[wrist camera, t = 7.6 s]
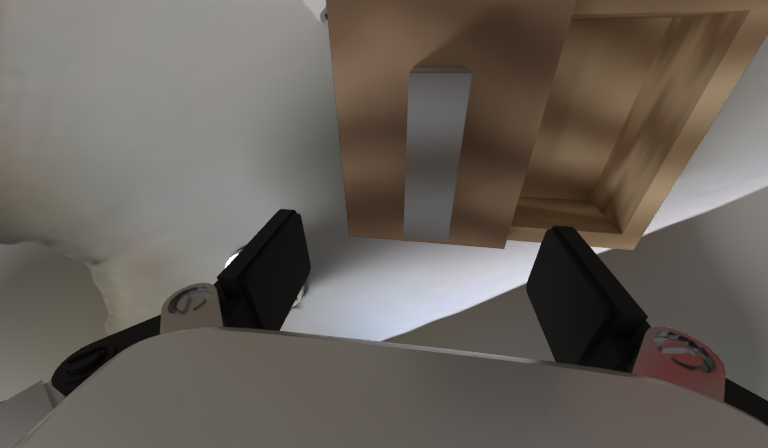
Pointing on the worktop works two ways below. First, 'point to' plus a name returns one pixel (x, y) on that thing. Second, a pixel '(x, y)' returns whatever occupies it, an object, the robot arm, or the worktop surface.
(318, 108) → the worktop surface
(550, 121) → the wooden box
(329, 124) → the worktop surface
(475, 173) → the lid
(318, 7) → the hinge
